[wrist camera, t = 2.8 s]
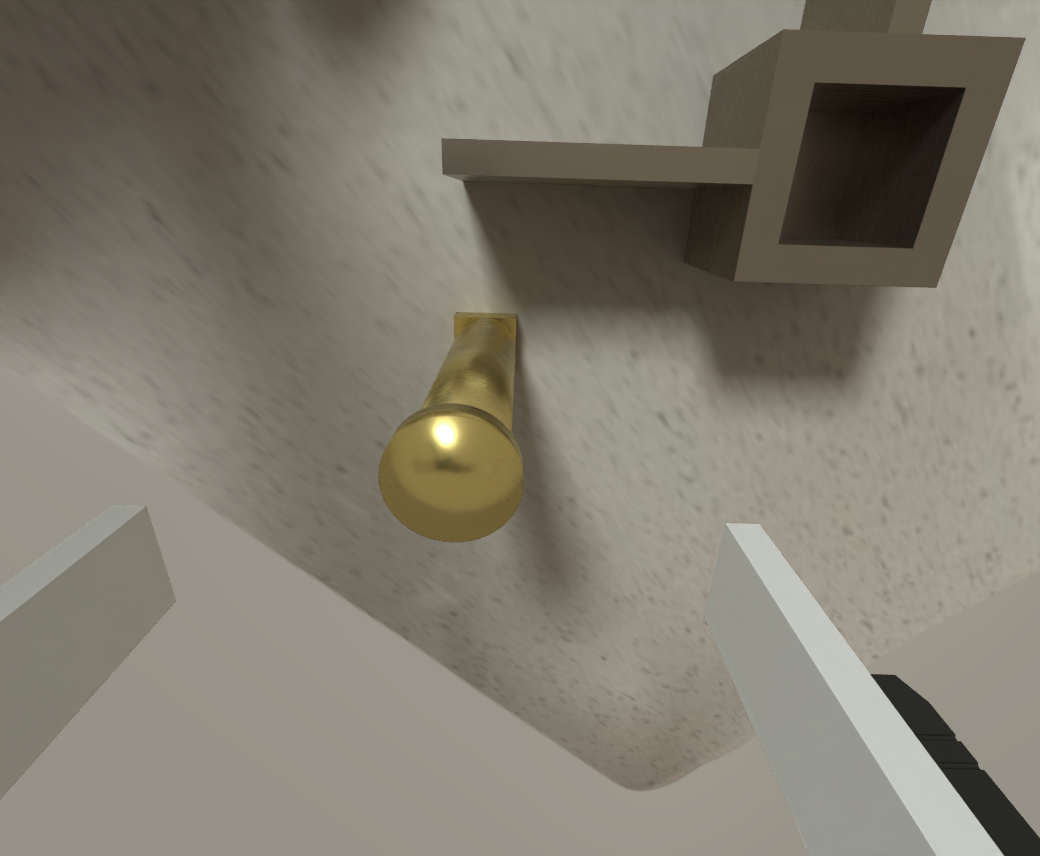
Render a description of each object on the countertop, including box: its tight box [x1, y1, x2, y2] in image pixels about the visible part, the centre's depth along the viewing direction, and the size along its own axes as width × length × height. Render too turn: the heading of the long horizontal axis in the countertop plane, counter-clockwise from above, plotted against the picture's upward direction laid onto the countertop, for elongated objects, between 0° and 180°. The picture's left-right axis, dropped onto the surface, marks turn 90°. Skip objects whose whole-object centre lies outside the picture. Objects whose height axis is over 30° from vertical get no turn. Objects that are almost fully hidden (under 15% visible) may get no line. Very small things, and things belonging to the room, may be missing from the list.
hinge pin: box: [379, 312, 523, 542], centre depth 22 cm, size 4×4×16 cm
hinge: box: [442, 0, 1026, 288], centre depth 20 cm, size 20×18×7 cm
